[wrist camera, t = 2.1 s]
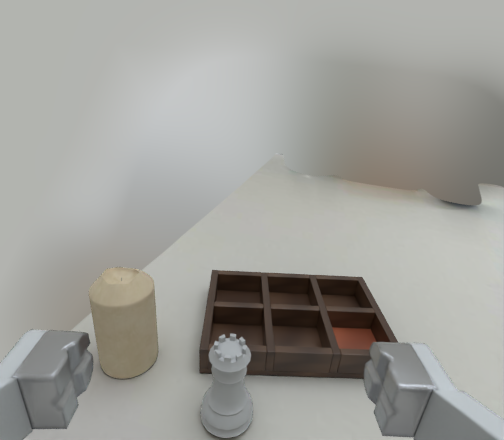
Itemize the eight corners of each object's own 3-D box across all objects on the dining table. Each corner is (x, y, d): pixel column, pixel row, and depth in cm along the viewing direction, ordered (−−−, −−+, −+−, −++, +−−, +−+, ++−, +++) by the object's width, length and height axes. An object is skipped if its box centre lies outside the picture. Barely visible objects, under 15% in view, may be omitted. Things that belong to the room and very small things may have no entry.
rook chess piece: (213, 386, 32) (215, 319, 28) (259, 402, 30) (266, 333, 27) (190, 430, 28) (190, 358, 24) (242, 450, 27) (248, 377, 23)
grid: (199, 373, 33) (199, 349, 32) (211, 289, 45) (212, 269, 44) (398, 379, 34) (406, 356, 32) (357, 296, 46) (362, 277, 45)
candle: (163, 337, 37) (158, 257, 33) (151, 380, 32) (144, 292, 28) (111, 336, 36) (100, 255, 32) (91, 379, 31) (75, 290, 27)
